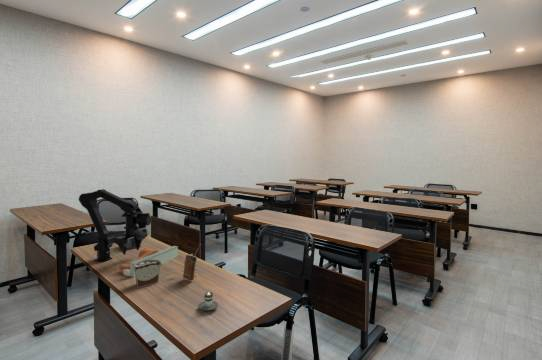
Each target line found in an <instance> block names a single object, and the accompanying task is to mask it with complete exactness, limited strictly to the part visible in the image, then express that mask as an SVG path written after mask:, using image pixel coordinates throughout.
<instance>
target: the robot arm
mask: <svg viewBox="0 0 542 360" xmlns="http://www.w3.org/2000/svg"><path fill="white" fill-rule="evenodd" d="M98 199H103V200H105V201H106V202H109V203H111V204H114V205H116V206H117V207H119V208H120V209H121V210H122V211H123V212H124V213H123V214H121V217H122V218H125V226H123V229H124V230H125V232H126V234H124V233H123V236H116V235H114V232H113V230H111V231H109V229H108V228H107V226H106V224H105V222H104V220H103V217H102V214H101V213H100V211H99V208H98ZM78 201H79V203H80V205H81V206H82V207H83V208H84V209H85V210H87V213H88V214H89V217H90V219H91V221H92V224H93V226H94V228H95V230H96V233H97V236H96V237H97V238H96V240H97V243H96V244H95V245H94V246H93V250H94V251H95V252H96V258H94V259H93V261H97V262H101V263H102V262H106V261H109V260H112V259H113V257H111V249H110V248H112V247H113V245H114V244H115V245H117V246H118V248H119V249H120V250H121V252H122V255H124V256H125V255H126V254H127V253H126V252H127V247H126V245H127V244H128V243H126V242H127V240H129V239H132V238H135V243H136V250H137V251H140V248H141V247H140V245H142V242H143V241H144V240H145V239H146V237H148V229H147V228H143V229H140V227H139V226H150V225H151V224H152V216H151V214H150V212H143V211H142V209H141V208H140V206H139V203H138V202H136V201H134V200H133V201H132V200H128V199H124V198H122V197H120V196H118V195H116V194H114V193H112V192H110V191H109V190H108V191H107V189H104V188H102V189H97V190H94V191H92V192H86V193H85V192H84V193H81V194H80V195H79V196H78ZM124 236H126V237H124ZM129 237H130V238H129Z"/></svg>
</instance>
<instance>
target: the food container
mask: <svg viewBox="0 0 542 360" xmlns="http://www.w3.org/2000/svg"><path fill="white" fill-rule="evenodd" d="M161 266H162V264H161V262H160V261H159V260H153V259H151V260H143V261H140V262H137V263H136V264H135V265H134V269H133V271H135V275H136V276H135V282H136V288H137V289H139V288H143V287H146V286H149V285H153V284H158V283H159V281H160V280H159V278H160V270H161V269H160V268H161Z"/></svg>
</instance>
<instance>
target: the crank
mask: <svg viewBox="0 0 542 360" xmlns="http://www.w3.org/2000/svg"><path fill="white" fill-rule="evenodd" d="M159 251H160V250H159ZM159 251H158V250H154V249H151V248H147V247H146V248H143V249H142V250H140V252H139V254H138V257H137V258H136V259H134V260H132V261H131V262H134V261H136V260H139V259H141V258H144V257H146V256H149V255H152V254H154V253H157V252H159ZM131 262H129V263H127V264H126V263H124V264H121V265H120V266H119V271H120V273H121V274H124V270H125V269H127V270H130V263H131Z"/></svg>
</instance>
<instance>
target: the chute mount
mask: <svg viewBox="0 0 542 360" xmlns="http://www.w3.org/2000/svg"><path fill="white" fill-rule="evenodd" d="M178 248H179V246H178V245H177V246H176V245H173V246H172V245H171V246H170V247H167V248H165V249H162V250H159V252H157V253H154V254H152V255H149V256H146V257H144V258H141V259H139V260H136V259H135V260H136V261H134V260H133V261H134V262H132V261H131V262H129V263H130V270H127V269H125V270H124V273H123V276H127V277H132V278H136V275H135V271H133V269H134V265H135V264H136V263H137V262H140V261H143V260H151V259H153V260H159V261H160V262H161V265H164V264H165V263H167V262H169V261H171V260H173V259H175V258H177V257H179V256H178V255H179V252H178V250H179V249H178Z"/></svg>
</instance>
